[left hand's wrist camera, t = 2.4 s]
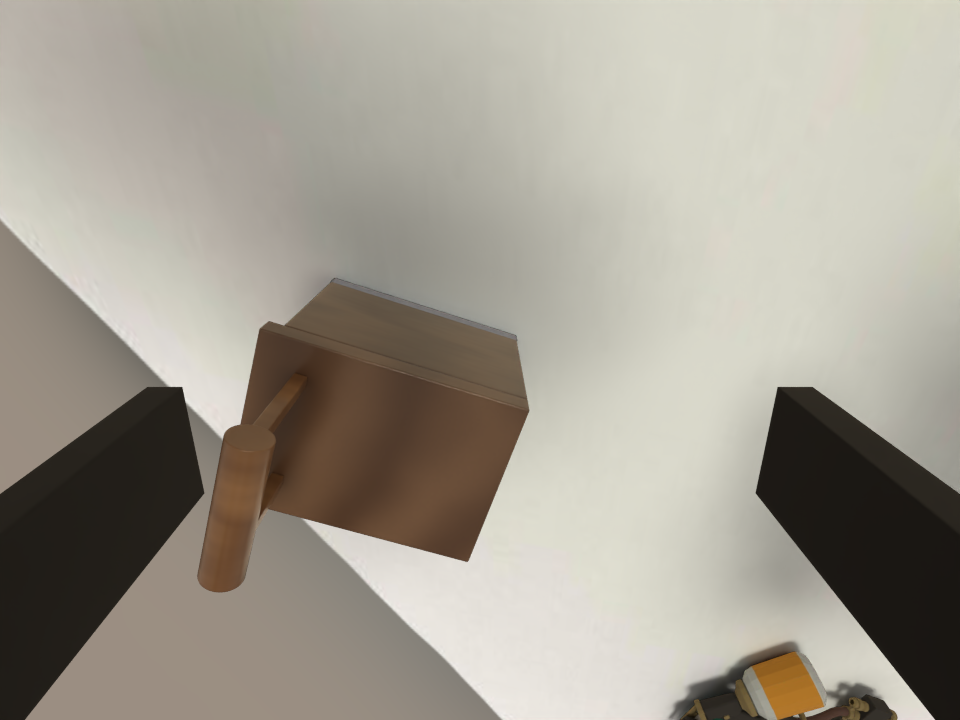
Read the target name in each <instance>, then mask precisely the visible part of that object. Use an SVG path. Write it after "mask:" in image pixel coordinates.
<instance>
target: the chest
mask: <svg viewBox="0 0 960 720" xmlns="http://www.w3.org/2000/svg"><path fill="white" fill-rule="evenodd" d="M285 326H286V327H290V328H293V329H296V330H300V331H303V332H306V333H309V334H313V335H316V336H319V337H323V338H326V339H329V340H332V341H336V342H339V343H342V344H346V345H349V346H352V347H355V348H359V349H362V350H365V351H369V352H372V353H375V354H378V355H382V356H385V357H388V358H391V359H395V360H398V361H401V362H405V363H408V364H411V365H414V366H418V367H421V368H424V369H428V370H431V371H434V372H437V373H441V374H444V375H447V376H451V377H454V378H457V379H460V380H464V381H467V382H470V383H474V384H477V385H480V386H483V387H487V388H490V389H493V390H497V391H500V392H503V393H506V394H510V395H513V396H516V397H520V398H523V399H526V400H527V395H526V390H525V384H524V379H523V373H522V368H521V362H520V357H519V351H518V346H517V337H516V335H513V334H510V333H507V332H503V331H500V330H497V329H494V328H491V327H488V326H484V325H481V324H478V323H475V322H472V321H469V320H466V319H462V318H459V317H456V316H453V315H450V314H447V313H444V312H440V311H437V310H434V309H431V308H428V307H425V306H422V305H418V304H415V303H412V302H409V301H406V300H403V299H399V298H396V297H393V296H390V295H387V294H384V293H381V292H377V291H374V290H371V289H368V288H365V287H362V286H359V285H355V284H352V283H349V282H346V281H343V280H340V279H337V278H334V279H333V280H332V281H331V283H330V284H329V285H327V286H326V287H325V288H324V289H323V290H322V291H321V292H320V293H319V294H318V295H317V296H316V297H315V298H314V299H312V300H311V301H310V302H309V303H308V304H307V305H306V306H305V307H304V308H303V309H302V310H301V311H300V312H298V313H297V314H296V315H295V316H294V317H293V318H292V319H291V320H290V321H289V322H288V323H287V324H286V325H285Z"/></svg>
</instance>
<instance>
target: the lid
mask: <svg viewBox="0 0 960 720" xmlns="http://www.w3.org/2000/svg"><path fill="white" fill-rule="evenodd" d="M528 413H529V406H528V400H526V399H523V398H520V397H516V396H513V395H510V394H506V393H503V392H500V391H497V390H493V389H490V388H487V387H483V386H480V385H477V384H474V383H470V382H467V381H464V380H460V379H457V378H454V377H451V376H447V375H444V374H441V373H437V372H434V371H431V370H428V369H424V368H421V367H418V366H414V365H411V364H408V363H405V362H401V361H398V360H395V359H391V358H388V357H385V356H382V355H378V354H375V353H372V352H369V351H365V350H362V349H359V348H355V347H352V346H349V345H346V344H342V343H339V342H336V341H332V340H329V339H326V338H323V337H319V336H316V335H313V334H309V333H306V332H303V331H300V330H296V329H293V328H290V327H286V326H283V325H280V324H277V323H273V322H270V321H268V322H267V323H266V324H265V325H264V326H262V327H261V328H260V329H259V334H258V339H257V344H256V349H255V354H254V359H253V364H252V369H251V374H250V379H249V384H248V389H247V394H246V399H245V404H244V409H243V414H242V419H241V425H237V426H233V427H231V428H229V429H228V430H227V431H226V432H225V434H224V437H223V443H222V448H221V453H220V458H219V464H218V469H217V474H216V480H215V485H214V490H213V496H212V501H211V506H210V511H209V517H208V522H207V528H206V533H205V538H204V543H203V549H202V554H201V559H200V565H199V570H198V576H197V577H198V581H199V583H200V585H201V586H202V587H204V588H205V589H207V590H209V591H212V592H227V591H231V590H233V589H235V588H237V587H238V586H239V585H240V584H241V583H242V582H243V581H244V579H245V575H246V571H247V567H248V562H249V558H250V553H251V549H252V544H253V540H254V536H255V531H256V529H257V528H258V526H259V524H260V523H261V521H262V519H263V517H264V516H265V514H266V512H267V511H268V509H270V510H274V511H278V512H282V513H285V514H289V515H293V516H297V517H300V518H304V519H308V520H312V521H315V522H319V523H323V524H327V525H330V526H334V527H338V528H342V529H345V530H349V531H353V532H357V533H360V534H364V535H368V536H372V537H375V538H379V539H383V540H387V541H390V542H394V543H398V544H402V545H405V546H409V547H413V548H417V549H421V550H424V551H428V552H432V553H436V554H439V555H443V556H447V557H451V558H454V559H458V560H462V561H466V562H468V561H469V558H470V556H471V554H472V551H473V549H474V546H475V544H476V541H477V539H478V536H479V534H480V531H481V529H482V526H483V524H484V521H485V519H486V516H487V514H488V512H489V509H490V507H491V504H492V502H493V499H494V497H495V494H496V492H497V489H498V487H499V484H500V482H501V479H502V477H503V474H504V472H505V470H506V467H507V465H508V462H509V460H510V457H511V455H512V452H513V450H514V447H515V445H516V442H517V440H518V437H519V435H520V432H521V430H522V428H523V425H524V423H525V420H526V418H527V415H528Z"/></svg>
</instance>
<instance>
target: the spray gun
mask: <svg viewBox="0 0 960 720" xmlns="http://www.w3.org/2000/svg"><path fill="white" fill-rule="evenodd" d="M742 680H743V682H742ZM742 680H741V679H739V680H737V681H736V688H735V693H728V694H724V695H720V696H716V697H712V698H708V699H704V700H700V701H699V699H696V700H694V703H695V705H694V706H693V707H692V708H691V709H690V710H689V711H688V712H687V713H686V714H685V715H684V716H683V717H682V718H681V719H680V720H830V719H833V718H835V717H838V716H842V720H897V714H896V713H895V712H894V711H893V710H891V709H889V707H888V706H887V704H886V703H885V702H884V701H883V700H881V699H878V698H875V697H872V696H869V695H865V696H864V697H863V698H861V699H859V698H856V697H851V698H849V704H850V706H846V705H842V706H841V707H834V708H830V709H828V710H826V711H824V712H821V713H819V714H816V715H813V716H810V717H805V714H804V712H807V711H811V710H814V709H818V708H821V707H824V706H825V705H826V700H827V694H826V691H825V689H824V687H823V685H822V682H821V680H820V679H819V677H818V675H817V673H816V671H815V669H814V668H813V666H812V664H811V663H810V661H809V659H808V658H807V657H806V656H805V655H803V654H801V653H799V652H795V651H794V652H791V653H788V654H785V655H782V656H779V657H776V658H774V659H771V660H768V661H765V662H762V663H759V664H756V665H753V666H751V667H749V668H748V669H747V670H745V672H744V675H743V678H742ZM735 694H736V695H735ZM736 696H737V697H736ZM737 698H738V699H737ZM696 711H697V712H696ZM797 714H798V715H799V717H800V718H795V717H793V715H797Z"/></svg>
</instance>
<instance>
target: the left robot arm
mask: <svg viewBox="0 0 960 720" xmlns="http://www.w3.org/2000/svg"><path fill="white" fill-rule="evenodd" d="M203 494H204V489H203V484H202V480H201V475H200V470H199V465H198V460H197V456H196V451H195V446H194V441H193V436H192V432H191V427H190V422H189V417H188V412H187V408H186V403H185V398H184V393H183V389H182V387H147V388H146V389H144V390H143V391H141V392H140V393H139V394H137V395H136V396H134V397H133V398H132V399H130V400H129V401H128V402H126V403H125V404H123V405H122V406H121V407H119V408H118V409H117V410H115V411H114V412H112V413H111V414H110V415H108V416H107V417H106V418H104V419H103V420H102V421H100V422H99V423H97V424H96V425H95V426H93V427H92V428H90V429H89V430H88V431H86V432H85V433H84V434H82V435H81V436H79V437H78V438H77V439H75V440H74V441H73V442H71V443H70V444H68V445H67V446H66V447H64V448H63V449H62V450H60V451H59V452H57V453H56V454H55V455H53V456H52V457H51V458H49V459H48V460H46V461H45V462H44V463H42V464H41V465H40V466H38V467H37V468H35V469H34V470H33V471H31V472H30V473H29V474H27V475H26V476H25V477H23V478H22V479H20V480H19V481H18V482H16V483H15V484H13V485H12V486H11V487H9V488H8V489H7V490H5V491H4V492H2V493H1V494H0V720H25V719H26V718H27V716H28V715H29V714H30V713H31V711H32V710H33V709H34V707H35V706H36V705H37V704H38V702H39V701H40V700H41V699H42V697H43V696H44V695H45V694H46V692H47V691H48V690H49V689H50V687H51V686H52V685H53V683H54V682H55V681H56V680H57V678H58V677H59V676H60V675H61V673H62V672H63V671H64V670H65V668H66V667H67V666H68V665H69V663H70V662H71V661H72V659H73V658H74V657H75V656H76V654H77V653H78V652H79V651H80V649H81V648H82V647H83V646H84V644H85V643H86V642H87V641H88V639H89V638H90V637H91V636H92V634H93V633H94V632H95V631H96V629H97V628H98V627H99V625H100V624H101V623H102V622H103V620H104V619H105V618H106V617H107V615H108V614H109V613H110V612H111V610H112V609H113V608H114V607H115V605H116V604H117V603H118V601H119V600H120V599H121V598H122V596H123V595H124V594H125V593H126V591H127V590H128V589H129V588H130V586H131V585H132V584H133V583H134V581H135V580H136V579H137V577H138V576H139V575H140V574H141V572H142V571H143V570H144V569H145V567H146V566H147V565H148V564H149V562H150V561H151V560H152V559H153V557H154V556H155V555H156V554H157V552H158V551H159V550H160V548H161V547H162V546H163V545H164V543H165V542H166V541H167V540H168V538H169V537H170V536H171V535H172V533H173V532H174V531H175V530H176V528H177V527H178V526H179V525H180V523H181V522H182V521H183V519H184V518H185V517H186V516H187V514H188V513H189V512H190V511H191V509H192V508H193V507H194V505H195V504H196V503H197V502H198V501H199V499H200V498H201V497H202V495H203ZM756 494H757V495H758V497H759V498H760V499H761V501H762V502H763V503H764V504H765V506H766V507H767V508H768V509H769V511H770V512H771V513H772V514H773V516H774V517H775V518H776V519H777V521H778V522H779V523H780V525H781V526H782V527H783V528H784V530H785V531H786V532H787V533H788V535H789V536H790V537H791V538H792V540H793V541H794V542H795V543H796V545H797V546H798V547H799V548H800V550H801V551H802V552H803V554H804V555H805V556H806V557H807V559H808V560H809V561H810V562H811V564H812V565H813V566H814V567H815V569H816V570H817V571H818V572H819V574H820V575H821V576H822V578H823V579H824V580H825V581H826V583H827V584H828V585H829V586H830V588H831V589H832V590H833V591H834V593H835V594H836V595H837V596H838V598H839V599H840V600H841V601H842V603H843V604H844V605H845V607H846V608H847V609H848V610H849V612H850V613H851V614H852V615H853V617H854V618H855V619H856V620H857V622H858V623H859V624H860V625H861V627H862V628H863V629H864V631H865V632H866V633H867V634H868V636H869V637H870V638H871V639H872V641H873V642H874V643H875V644H876V646H877V647H878V648H879V649H880V651H881V652H882V653H883V654H884V656H885V657H886V658H887V660H888V661H889V662H890V663H891V665H892V666H893V667H894V668H895V670H896V671H897V672H898V673H899V675H900V676H901V677H902V678H903V680H904V681H905V682H906V684H907V685H908V686H909V687H910V689H911V690H912V691H913V692H914V694H915V695H916V696H917V697H918V699H919V700H920V701H921V702H922V704H923V705H924V706H925V707H926V709H927V710H928V711H929V713H930V714H931V715H932V716H933V718H934V719H935V720H960V494H959V493H958V492H956V491H955V490H953V489H952V488H951V487H949V486H948V485H947V484H945V483H944V482H942V481H941V480H940V479H938V478H937V477H936V476H934V475H933V474H931V473H930V472H929V471H927V470H926V469H925V468H923V467H922V466H920V465H919V464H918V463H916V462H915V461H914V460H912V459H911V458H909V457H908V456H907V455H905V454H904V453H903V452H901V451H900V450H898V449H897V448H896V447H894V446H893V445H892V444H890V443H889V442H887V441H886V440H885V439H883V438H882V437H881V436H879V435H878V434H876V433H875V432H874V431H872V430H871V429H870V428H868V427H867V426H865V425H864V424H863V423H861V422H860V421H859V420H857V419H856V418H854V417H853V416H852V415H850V414H849V413H848V412H846V411H845V410H843V409H842V408H841V407H839V406H838V405H837V404H835V403H834V402H832V401H831V400H830V399H828V398H827V397H826V396H824V395H823V394H821V393H820V392H819V391H817V390H816V389H814V388H813V387H778V389H777V393H776V398H775V403H774V408H773V412H772V417H771V422H770V427H769V432H768V436H767V441H766V446H765V451H764V456H763V460H762V465H761V470H760V475H759V480H758V484H757V489H756Z"/></svg>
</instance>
